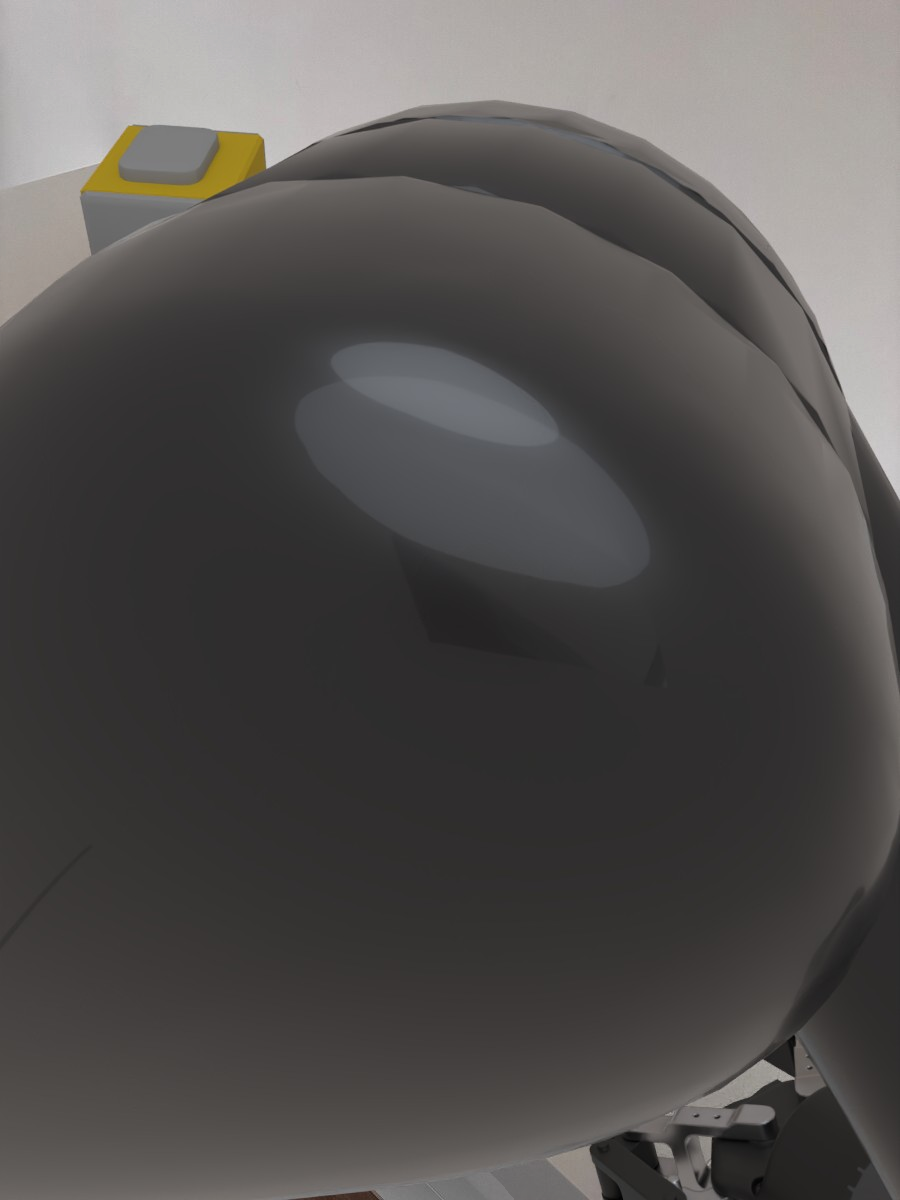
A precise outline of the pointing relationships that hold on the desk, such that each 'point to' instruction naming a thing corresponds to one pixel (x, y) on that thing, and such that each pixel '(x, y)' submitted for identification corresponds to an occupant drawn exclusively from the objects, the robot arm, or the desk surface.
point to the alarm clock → (163, 176)
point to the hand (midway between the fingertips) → (676, 1063)
